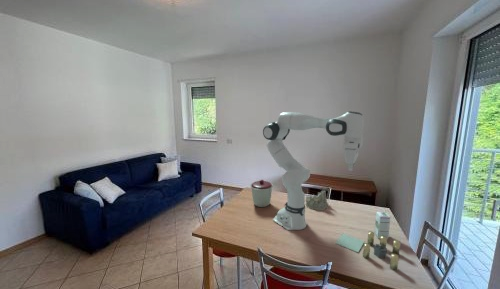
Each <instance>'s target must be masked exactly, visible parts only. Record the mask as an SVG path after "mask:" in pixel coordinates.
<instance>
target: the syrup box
mask: <svg viewBox="0 0 500 289" xmlns="http://www.w3.org/2000/svg"><path fill="white" fill-rule="evenodd" d="M375 213H376V214H375V224H374V225H375V226H374V235H375V236H376V237H377V238H378V239H380V236H386V237H387V240H389V238H390V237H389V235H390V224H391V216H390V214H389V213H387V212H386V211H376V212H375Z"/></svg>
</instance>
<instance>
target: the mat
mask: <svg viewBox="0 0 500 289" xmlns="http://www.w3.org/2000/svg"><path fill="white" fill-rule="evenodd" d="M364 243H365V241H364V240H361V239H359V238H357V237H356V238H355V237H354V236H350V235H349V234H346V233H342V234H341V236H339V238H338V239H337V241H335V245H338V246H341V247H343V248H345V249H348V250H350V251H352V252H355V253H357V254H358V253H359V252H360V250H361V249H362V247H363V246H364Z"/></svg>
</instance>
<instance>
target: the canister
mask: <svg viewBox="0 0 500 289" xmlns="http://www.w3.org/2000/svg"><path fill="white" fill-rule="evenodd" d="M273 186H274V184H273V183H272V182H270V181H267V180H264V179H259V180H257V181H254V182H252V183H251V184H250V188H251V195H252V201H253V204H254V205H255V206H256V207H259V208H266V207H268V206H269V205H270V203H271V198H272V190H273Z"/></svg>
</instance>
